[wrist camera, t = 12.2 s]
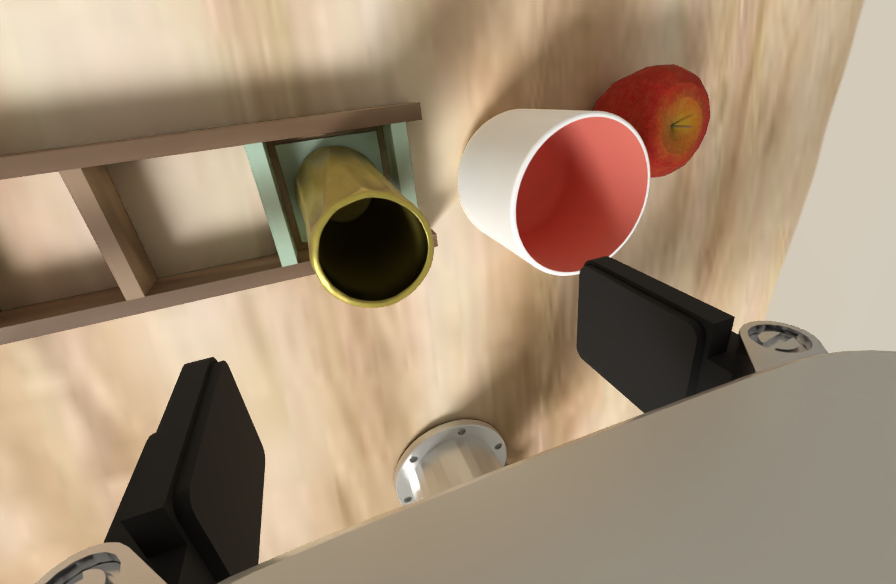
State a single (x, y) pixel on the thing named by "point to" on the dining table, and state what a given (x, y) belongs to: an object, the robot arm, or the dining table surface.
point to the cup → (555, 184)
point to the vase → (361, 229)
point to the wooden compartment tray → (100, 196)
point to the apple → (662, 113)
